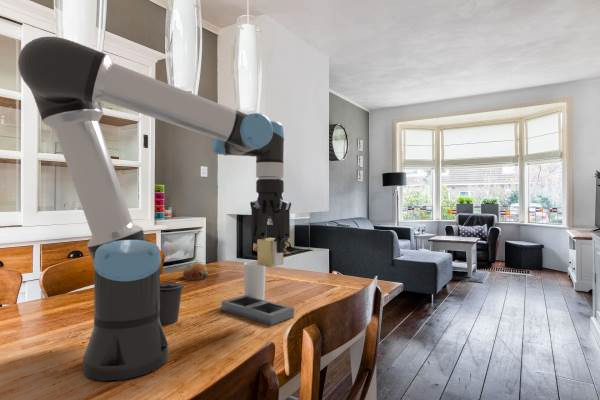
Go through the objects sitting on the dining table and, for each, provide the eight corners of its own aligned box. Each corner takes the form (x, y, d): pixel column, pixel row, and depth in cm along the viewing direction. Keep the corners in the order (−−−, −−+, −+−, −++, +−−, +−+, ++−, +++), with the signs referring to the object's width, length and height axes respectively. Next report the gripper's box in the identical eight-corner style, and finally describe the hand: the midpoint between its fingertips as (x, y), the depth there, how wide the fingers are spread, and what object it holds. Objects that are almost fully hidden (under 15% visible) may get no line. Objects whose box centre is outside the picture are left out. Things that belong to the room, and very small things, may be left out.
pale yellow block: (270, 267, 96) (270, 240, 96) (257, 264, 99) (257, 239, 99) (283, 264, 100) (283, 238, 99) (270, 262, 103) (270, 237, 103)
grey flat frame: (271, 325, 92) (271, 315, 92) (221, 309, 105) (221, 301, 105) (293, 317, 99) (293, 307, 99) (244, 303, 112) (244, 295, 112)
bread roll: (203, 283, 153) (200, 265, 155) (215, 276, 146) (211, 258, 149) (181, 287, 146) (178, 268, 149) (192, 280, 139) (188, 260, 142)
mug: (258, 305, 110) (258, 265, 110) (239, 302, 113) (239, 264, 113) (273, 297, 119) (273, 260, 119) (255, 294, 122) (256, 259, 122)
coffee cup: (165, 328, 89) (165, 288, 89) (143, 323, 93) (144, 284, 93) (189, 319, 96) (190, 282, 96) (168, 314, 100) (169, 278, 100)
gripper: (304, 178, 96) (304, 265, 96) (257, 180, 107) (257, 258, 108) (285, 177, 90) (285, 269, 90) (237, 179, 102) (237, 261, 102)
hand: (269, 263), depth 99 cm, fingers closed on pale yellow block, 5 cm apart
